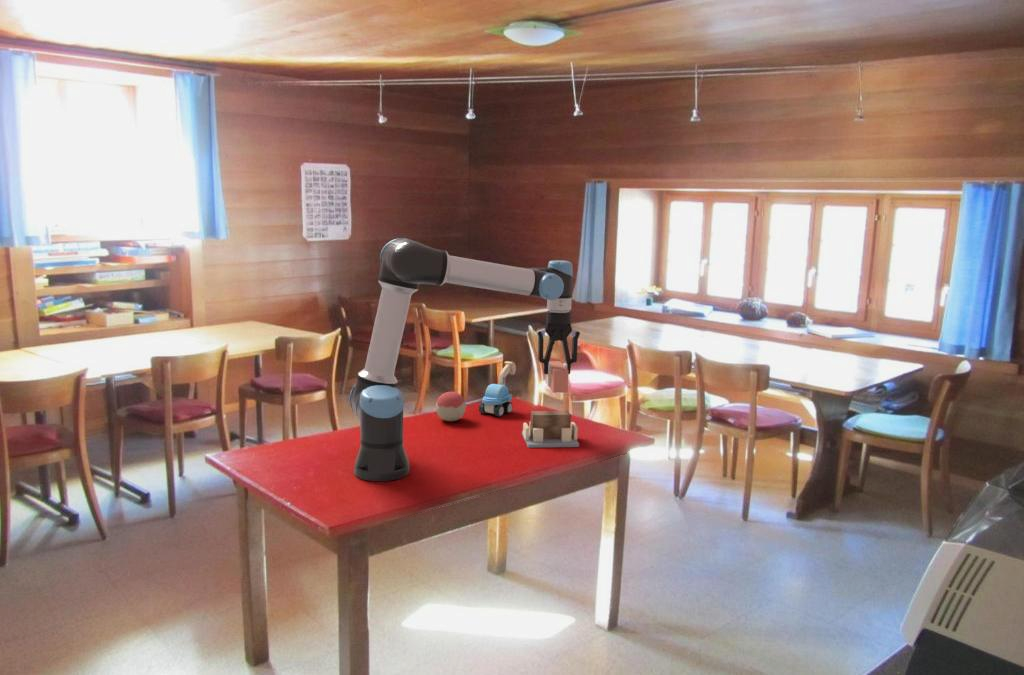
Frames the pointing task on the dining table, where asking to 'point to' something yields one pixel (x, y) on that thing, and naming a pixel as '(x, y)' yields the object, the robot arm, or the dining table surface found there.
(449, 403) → the toy
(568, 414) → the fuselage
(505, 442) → the dining table surface
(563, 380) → the salmon pink block
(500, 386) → the toy excavator
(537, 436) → the jig
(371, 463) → the robot arm
